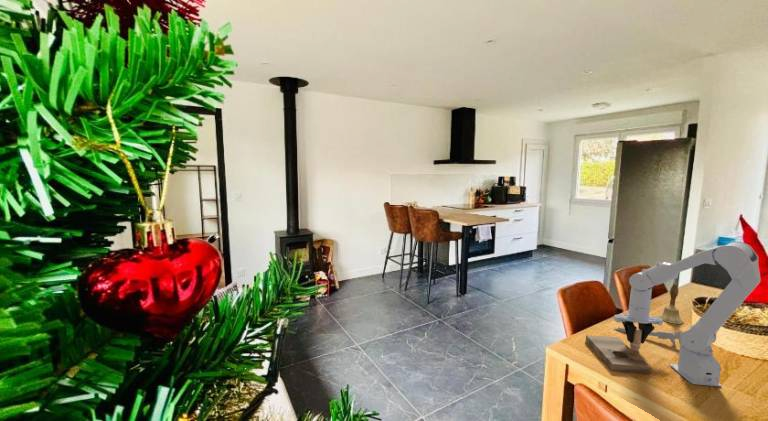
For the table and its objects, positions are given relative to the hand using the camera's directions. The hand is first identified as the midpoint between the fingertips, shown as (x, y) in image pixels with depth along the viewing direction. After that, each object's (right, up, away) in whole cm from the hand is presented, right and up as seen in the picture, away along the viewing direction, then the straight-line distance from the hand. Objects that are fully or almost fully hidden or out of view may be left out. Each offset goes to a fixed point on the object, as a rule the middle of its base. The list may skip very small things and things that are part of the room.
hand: (635, 341), depth 114 cm
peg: (0, -3, 0) cm, 3 cm away
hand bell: (+34, -1, +23) cm, 41 cm away
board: (-10, -4, -3) cm, 11 cm away
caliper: (+11, -3, +9) cm, 15 cm away
